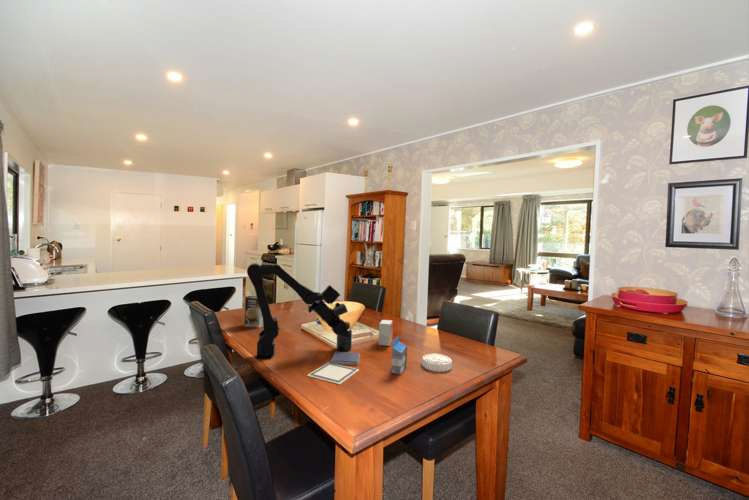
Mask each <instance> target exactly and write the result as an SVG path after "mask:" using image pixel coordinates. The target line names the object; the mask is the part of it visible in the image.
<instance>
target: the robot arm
mask: <svg viewBox="0 0 749 500" xmlns="http://www.w3.org/2000/svg"><path fill="white" fill-rule="evenodd" d="M246 270H247V271H246V273H247V276H248V278H249V280H250V283H251V284H252V286H253V288H254V291H255V295H256V296H257V299H258V303H259V306H260V310H261V314H262V317H263V326H262V327H263V329H262V331H260V332H259V333H258V341H257V342H256V355H255V359H272V358H273V357H274V355H275V354H276V344H275V340H274V339H276V338H277V337H278V335H279V331H280V330H281V329H280V325H279V323H278V319H277V317H276V316H275V317H273V315H272V312H271V309H270V304H269V301H268V297H267V294H266V290H265V286H264V278H263V276H268V275H269V276H270V275H275V276H276V277H278V278H279V279H280V280H281V281H283V282H284V283H285V284H286V285H287V286H289V287H290V289H292V290H293V291H294V292H295V293H296V294H297V295H298V296H299V297H300V299H301V300H302V301H303V302H304V303H305V304H306V305H307V312H308V313H309V314H311V313H312V312H314V313H315V314H316V315H318V317H319V318H320V319H321V320H322V321H323V322H325V324H326V325H327V326H328V327H330V328H331V331H332V333H334V335H336V336H337V334H339V335H342V336H345V337H348V338H349V337H350V335H349V333H348V332H347V330H346V328H345V326H346V323H345V322H346V321H344V320H343V319H342V318H341V315H344V314H346V313H348V312H349V311H348V308H347V306H346V305H345V304H344V303H339V302H336V300H338V298H339V297H341V294H340V293H339V292H338V290H336V289H335V288H334V287H332V286H331V284H329V285H327V286H326V288H325V289H324V290H323V291H322V292H317V291H316V292H315V291H314V290H312V289H311V288H308V287H307V286H305V285H303V284H301V283H300V282H298V281H297V280H296V279H295V278H294V277H293V276H292V275H291V274H289V273H288V272H287V271H286V270H285V269H284V268H283V267H281V265H279V264H278V263H275V264H259V263H257V262H254V263H250V264H249V265H248V267H247V269H246ZM334 302H336V303H335V304H334V307H333V308H332V307H329V306H328V305H332V304H333V303H334Z"/></svg>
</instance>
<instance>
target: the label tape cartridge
mask: <svg viewBox="0 0 749 500" xmlns="http://www.w3.org/2000/svg"><path fill="white" fill-rule="evenodd" d="M399 338H400V336H399V335H397V336H396V337H395V338H394V339H392V342H391V344H392V345H391V346H392V352H391V353H392V354H391V372H390V373H391V374H394V375H399V376H400V375H401V374H402V373H403V371H404V370H405V369H406V368H407V363H408V362H407V358H408V346H407V345H405V343H402V342H401V341H400V339H399Z"/></svg>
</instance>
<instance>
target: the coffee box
mask: <svg viewBox="0 0 749 500" xmlns="http://www.w3.org/2000/svg"><path fill="white" fill-rule="evenodd" d="M244 298H245V299H244V301H245V304H244V327H245V328H257V329H259V328H261V327H263V317H262V314H261V310H260V306H259V303H258V299H257V295H256V296H255V295H250V296H246V297H244Z"/></svg>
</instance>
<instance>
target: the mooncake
mask: <svg viewBox="0 0 749 500" xmlns="http://www.w3.org/2000/svg"><path fill="white" fill-rule="evenodd" d="M421 366H422V368H425V369H426V370H428V371H433V372H439V373H441V372H443V373H444V372H448V371H451V369H452V368H453V367H452V366H453V359H451V357H449V356H447V355H445V354H441V353H434V352H433V353H426V354H423V356H422V357H421Z"/></svg>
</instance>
